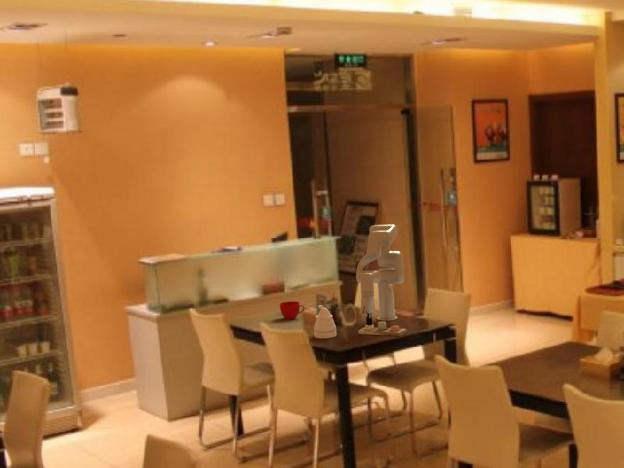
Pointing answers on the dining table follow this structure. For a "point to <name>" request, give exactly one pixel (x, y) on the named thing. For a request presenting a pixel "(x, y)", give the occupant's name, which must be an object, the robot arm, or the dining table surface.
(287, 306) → the ceramic cup
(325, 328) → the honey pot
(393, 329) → the button three
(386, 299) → the robot arm
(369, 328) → the button one
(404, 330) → the wooden panel frame
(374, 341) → the dining table surface
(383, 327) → the button two
